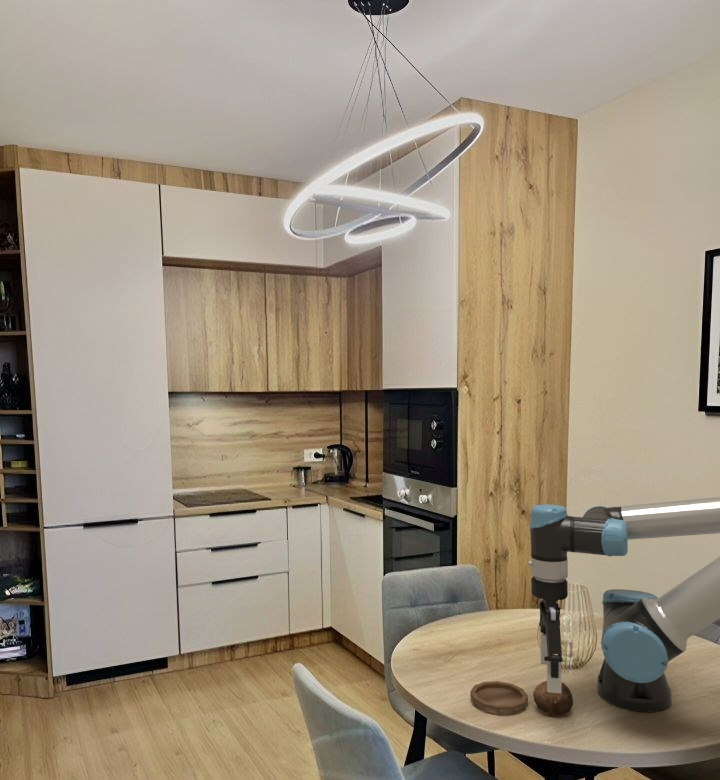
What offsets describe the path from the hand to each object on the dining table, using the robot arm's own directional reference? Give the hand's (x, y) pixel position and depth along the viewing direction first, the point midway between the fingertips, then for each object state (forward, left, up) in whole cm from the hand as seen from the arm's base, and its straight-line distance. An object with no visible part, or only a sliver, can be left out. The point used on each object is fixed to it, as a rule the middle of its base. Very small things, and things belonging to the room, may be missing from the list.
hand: (550, 677), depth 129 cm
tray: (+9, +6, -7) cm, 13 cm away
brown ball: (0, 0, -7) cm, 7 cm away
